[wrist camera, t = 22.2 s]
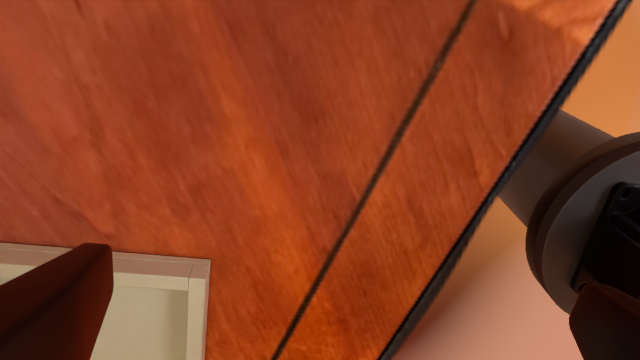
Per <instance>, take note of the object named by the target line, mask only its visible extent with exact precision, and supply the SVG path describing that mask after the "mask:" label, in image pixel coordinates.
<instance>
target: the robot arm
mask: <svg viewBox="0 0 640 360" xmlns="http://www.w3.org/2000/svg"><path fill="white" fill-rule="evenodd" d="M624 190H625V192H624V193H623V194H621V193H622V192H623V191H624ZM582 283H583V284H582ZM581 284H582V285H581ZM570 287H571V289H572V290H573V291H574V292H575V293H576V294H579V296H578V298H577V301H576V303H575V305H574V307H573V309H572V311H571V314H570V317H569V325H570V329H571V331H572V334H573V336H574V338H575V341H576V343H577V345H578V348H579V350H580V352H581V355H582V357H583V358H584V360H640V183H637V182H628V181H621V182H618V183H616V184H615V185H614V186H613V187H612V189H611V191H610V193H609V195H608V198H607V200H606V202H605V204H604V207H603V209H602V211H601V213H600V216H599V218H598V220H597V222H596V225H595V227H594V229H593V231H592V234H591V236H590V238H589V240H588V243H587V245H586V247H585V249H584V252H583V254H582V256H581V258H580V261H579V263H578V265H577V267H576V270H575V272H574V274H573V276H572V279H571V281H570ZM113 288H114V277H113V255H112V249H111V247H110V246H109V245H107V244H96V243H84V244H82V245H80V246H78V247H76V248H74V249H72V250H70V251H68V252H66V253H64V254H62V255H60V256H58V257H56V258H54V259H52V260H50V261H48V262H46V263H44V264H42V265H40V266H38V267H36V268H34V269H32V270H30V271H28V272H26V273H24V274H22V275H20V276H18V277H16V278H14V279H12V280H10V281H8V282H6V283H4V284H2V285H0V360H90V358H91V355H92V352H93V349H94V346H95V343H96V340H97V338H98V335H99V332H100V329H101V326H102V323H103V320H104V318H105V315H106V312H107V309H108V306H109V303H110V300H111V297H112V294H113Z"/></svg>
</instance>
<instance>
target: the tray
mask: <svg viewBox="0 0 640 360" xmlns="http://www.w3.org/2000/svg"><path fill="white" fill-rule="evenodd" d="M72 249H74V248H62V247H50V246H37V245H25V244H12V243H0V285H2V284H4V283H6V282H8V281H10V280H12V279H14V278H16V277H18V276H20V275H22V274H24V273H26V272H28V271H30V270H32V269H34V268H36V267H38V266H40V265H42V264H44V263H46V262H48V261H50V260H52V259H54V258H56V257H58V256H60V255H62V254H64V253H66V252H68V251H70V250H72ZM112 255H113V277H114V288H113V294H112V297H111V300H110V303H109V306H108V309H107V312H106V315H105V318H104V320H103V323H102V326H101V329H100V332H99V335H98V338H97V340H96V343H95V346H94V349H93V352H92V355H91V358H90V360H205V349H206V331H207V314H208V297H209V280H210V262H211V260H210V259H199V258H186V257H174V256H162V255H149V254H137V253H124V252H112Z"/></svg>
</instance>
